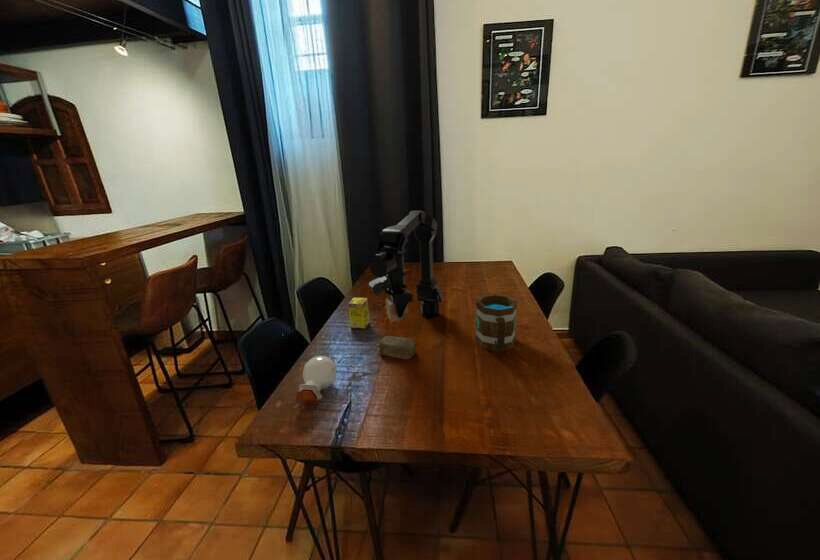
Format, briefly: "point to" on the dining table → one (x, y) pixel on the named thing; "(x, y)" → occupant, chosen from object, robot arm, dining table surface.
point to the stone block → (397, 347)
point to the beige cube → (395, 312)
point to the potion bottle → (315, 380)
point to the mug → (496, 322)
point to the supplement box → (359, 313)
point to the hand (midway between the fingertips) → (397, 313)
